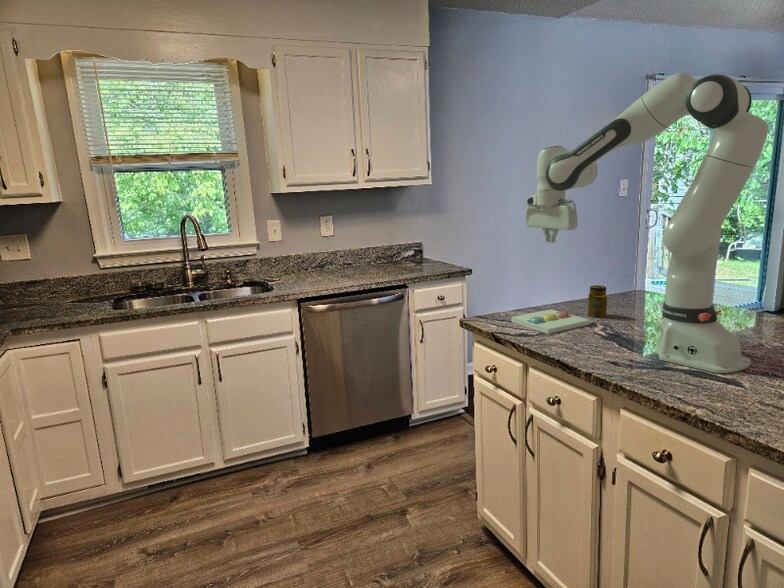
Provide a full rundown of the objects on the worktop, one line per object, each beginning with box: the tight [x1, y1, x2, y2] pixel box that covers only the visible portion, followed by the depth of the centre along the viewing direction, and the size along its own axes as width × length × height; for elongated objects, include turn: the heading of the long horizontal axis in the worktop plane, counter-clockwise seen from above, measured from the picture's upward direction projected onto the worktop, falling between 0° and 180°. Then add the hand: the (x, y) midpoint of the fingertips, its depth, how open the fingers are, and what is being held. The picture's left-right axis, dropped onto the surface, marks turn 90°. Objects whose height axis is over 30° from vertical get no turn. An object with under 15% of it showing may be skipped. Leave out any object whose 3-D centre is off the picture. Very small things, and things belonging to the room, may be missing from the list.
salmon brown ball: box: [556, 311, 569, 319], centre depth 176 cm, size 4×4×4 cm
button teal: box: [531, 317, 544, 324], centre depth 171 cm, size 4×4×4 cm
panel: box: [511, 308, 591, 335], centre depth 173 cm, size 18×18×3 cm
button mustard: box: [543, 314, 556, 321], centre depth 173 cm, size 4×4×4 cm
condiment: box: [587, 285, 608, 319], centre depth 177 cm, size 7×8×12 cm
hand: (550, 242), depth 166 cm, fingers closed
